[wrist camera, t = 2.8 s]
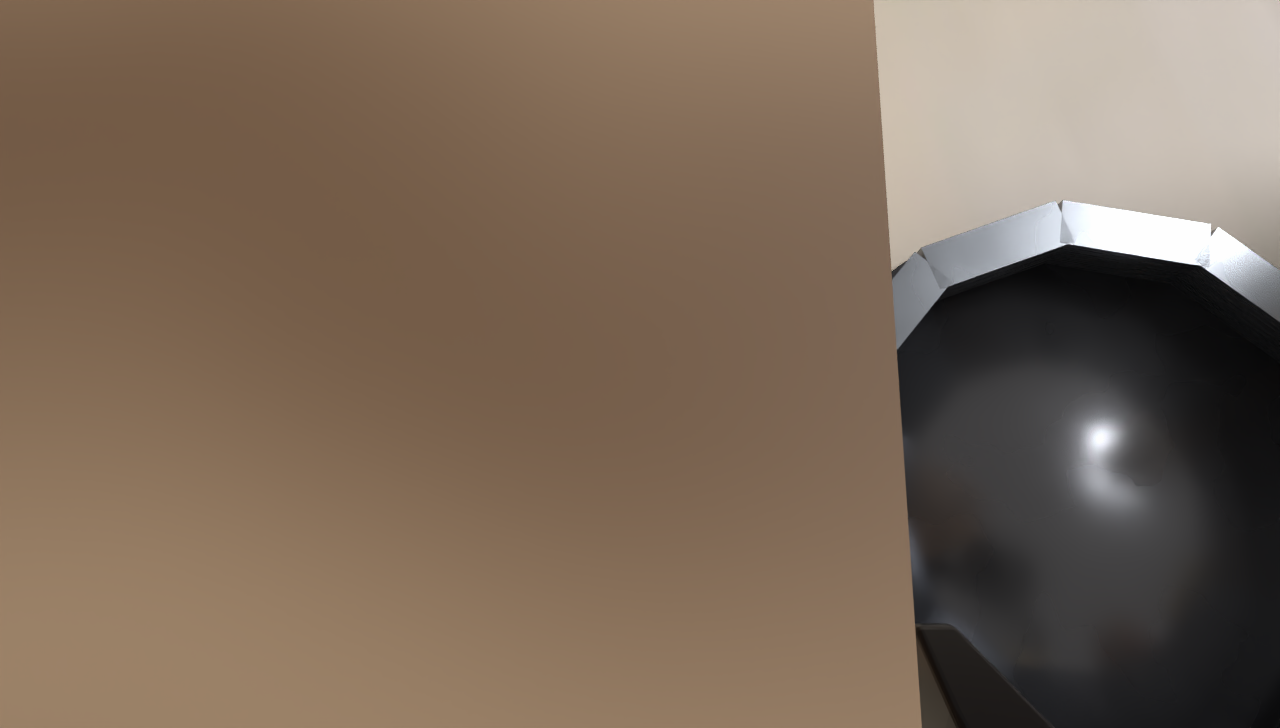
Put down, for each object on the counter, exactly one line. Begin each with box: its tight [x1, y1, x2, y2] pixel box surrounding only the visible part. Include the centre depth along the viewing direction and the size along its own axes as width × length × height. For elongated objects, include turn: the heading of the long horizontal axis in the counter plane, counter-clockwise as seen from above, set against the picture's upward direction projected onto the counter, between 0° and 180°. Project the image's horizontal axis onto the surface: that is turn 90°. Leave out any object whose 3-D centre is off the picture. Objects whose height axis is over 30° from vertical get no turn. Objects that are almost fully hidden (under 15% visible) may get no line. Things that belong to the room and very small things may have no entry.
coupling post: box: [0, 0, 922, 728], centre depth 13 cm, size 6×6×15 cm
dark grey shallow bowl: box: [891, 200, 1280, 728], centre depth 20 cm, size 13×13×2 cm
